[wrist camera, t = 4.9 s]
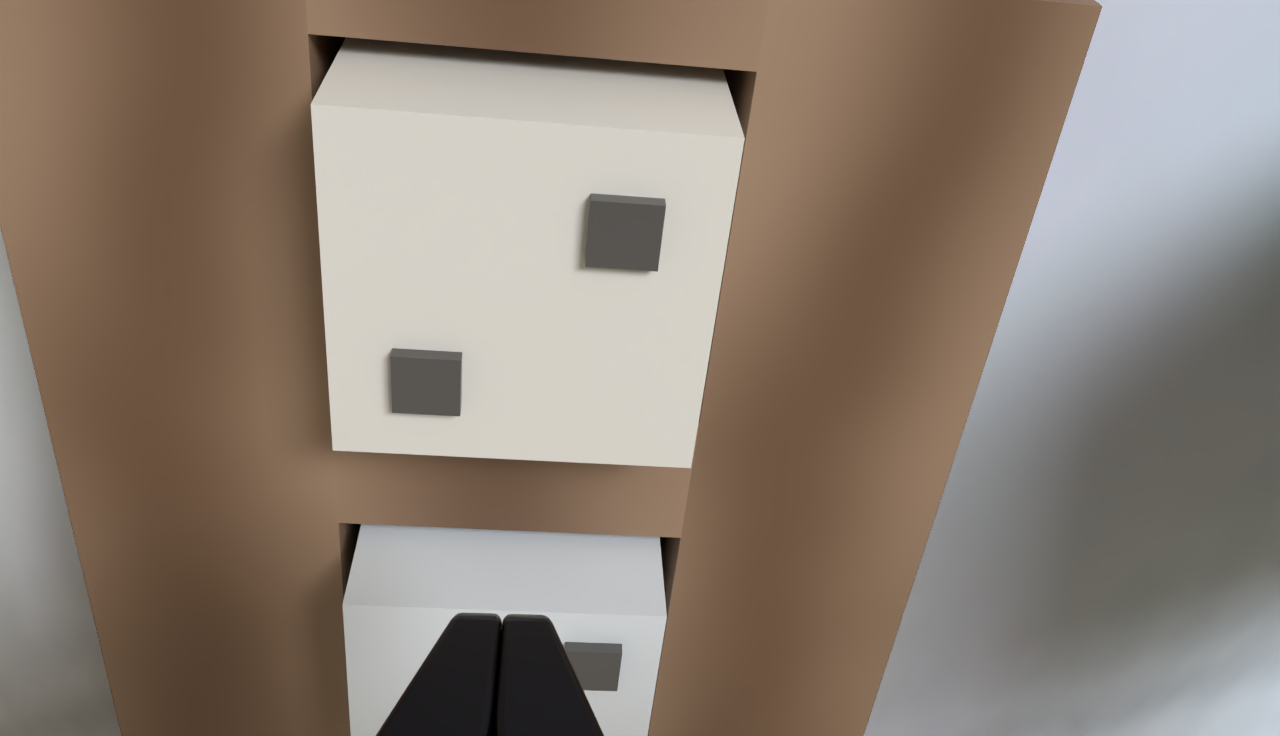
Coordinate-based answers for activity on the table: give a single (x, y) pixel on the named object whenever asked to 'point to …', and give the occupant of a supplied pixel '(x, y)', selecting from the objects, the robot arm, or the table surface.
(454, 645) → the robot arm
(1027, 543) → the table surface
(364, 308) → the two pip button
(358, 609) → the three pip button
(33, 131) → the board
